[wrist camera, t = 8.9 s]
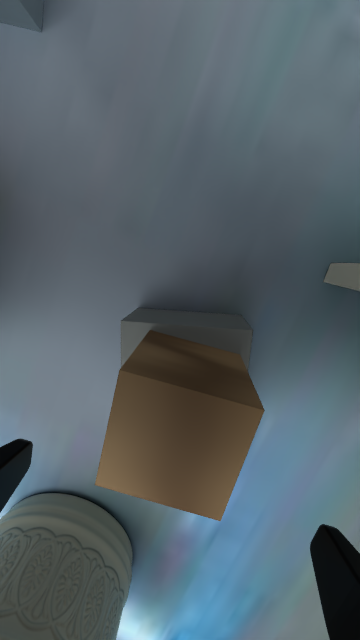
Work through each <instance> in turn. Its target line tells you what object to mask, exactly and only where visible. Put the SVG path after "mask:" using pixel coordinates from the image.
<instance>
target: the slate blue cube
mask: <svg viewBox="0 0 360 640" xmlns="http://www.w3.org/2000/svg"><path fill="white" fill-rule="evenodd" d="M43 9H44V0H0V22H1V23H5V24H9V25H13V26H18V27H22V28H26V29H30V30H34V31H38V32H42V21H43Z"/></svg>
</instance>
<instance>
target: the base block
mask: <svg viewBox="0 0 360 640" xmlns="http://www.w3.org/2000/svg"><path fill="white" fill-rule="evenodd" d="M149 330H152V331H156V332H160V333H163V334H167V335H171V336H174V337H178V338H182V339H185V340H189V341H192V342H196V343H200V344H203V345H207V346H211V347H214V348H218V349H222V350H225V351H229V352H233V353H236V354H240V355H241V358H242V360H243V362H244V365H245V367H246V369H247V371H248V366H249V358H250V350H251V343H252V335H253V330H252V328H251V327H250V326H249V324H248V323H247V322H246V321H245V319H244V318H243V317H242V315H235V314H220V313H205V312H191V311H176V310H161V309H147V308H137V309H136V310H135V311H133V312H132V313H131V314H129V315H128V316H127V317H125V318H124V319H123V320H121V367H122V366H123V365H124V363H125V362H126V361H127V359H128V358H129V357H130V355H131V354H132V353H133V351H134V350H135V349H136V347H137V346H138V345H139V343H140V342H141V341H142V339H143V338H144V337H145V336H146V334H147V333H148V332H149Z"/></svg>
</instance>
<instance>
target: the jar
mask: <svg viewBox="0 0 360 640" xmlns="http://www.w3.org/2000/svg"><path fill="white" fill-rule="evenodd" d="M132 560H133V553H132V547H131V543H130V541H129V538H128V536H127V534H126V532H125V531H124V529H123V528H122V526H121V525H120V524H119V523H118V522H117V521H116V520H115V518H113V517H112V516H111V515H110V514H109V513H108V512H106V511H105V510H104V509H102V508H101V507H99V506H97V505H96V504H94V503H92V502H90V501H88V500H85V499H82V498H79V497H76V496H72V495H68V494H60V493H45V494H38V495H34V496H31V497H28V498H26V499H24V500H22V501H20V502H19V503H17V504H16V505H15V506H14V507H13V508H12V509H11V510H10V511H9V512H8V513H7V514H6V515H4V516H3V517H2V518H1V519H0V640H116V637H117V632H118V628H119V624H120V619H121V615H122V610H123V607H124V606H125V603H126V601H127V598H128V593H129V587H130V584H131V577H132V568H131V566H132Z"/></svg>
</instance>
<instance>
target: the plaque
mask: <svg viewBox="0 0 360 640" xmlns="http://www.w3.org/2000/svg"><path fill="white" fill-rule="evenodd" d="M323 282H325V283H329V284H333V285H337V286H341V287H345V288H349V289H353V290H356V291H360V263H331V264H330V266H329V269H328V271H327V274H326V276H325V279H324V281H323Z"/></svg>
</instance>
